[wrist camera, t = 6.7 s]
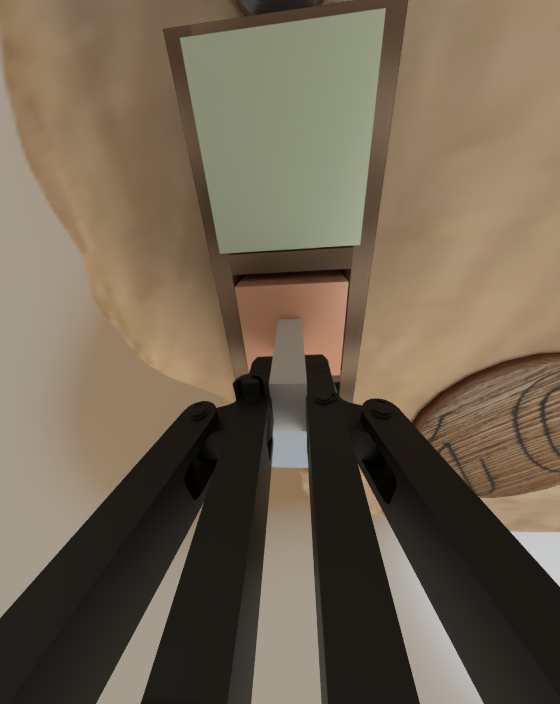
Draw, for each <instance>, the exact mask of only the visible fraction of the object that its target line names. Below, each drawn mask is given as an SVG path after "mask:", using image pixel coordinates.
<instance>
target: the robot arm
mask: <svg viewBox="0 0 560 704" xmlns="http://www.w3.org/2000/svg"><path fill="white" fill-rule="evenodd" d="M233 387H234V391H235V396H236V402H234V403H232V404H230V405H226V406H223V407H218V408H216V407H215V405H214V404H213V403H211V402H208V401H201V402H198V403H195V404H193V405H191V406H189V407H188V408H187V409H185V411H184V412H183V413H182V414H181V415H180V416H179V417H178V418H177V419H176V420H175V421H174V423H173V424H172V425H171V426H170V427H169V428H168V429H167V431H166V432H165V433H164V434H163V435H162V436H161V437H160V438H159V440H158V441H157V442H156V443H155V444H154V445H153V446H152V447H151V449H150V450H149V451H148V452H147V453H146V454H145V455H144V456H143V458H142V459H141V460H140V461H139V462H138V463H137V464H136V466H135V467H134V468H133V469H132V470H131V471H130V472H129V474H128V475H127V476H126V477H125V478H124V479H123V480H122V482H121V483H120V484H119V485H118V486H117V487H116V488H115V489H114V490H113V492H112V493H111V494H110V495H109V496H108V497H107V498H106V499H105V501H104V502H103V503H102V504H101V505H100V506H99V507H98V508H97V510H96V511H95V512H94V513H93V514H92V515H91V516H90V518H89V519H88V520H87V521H86V522H85V523H84V524H83V525H82V527H81V528H80V529H79V530H78V531H77V532H76V533H75V535H74V536H73V537H72V538H71V539H70V540H69V541H68V542H67V543H66V545H65V546H64V547H63V548H62V549H61V550H60V551H59V553H58V554H57V555H56V556H55V557H54V558H53V559H52V560H51V562H50V563H49V564H48V565H47V566H46V567H45V568H44V570H43V571H42V572H41V573H40V574H39V575H38V576H37V577H36V578H35V580H34V581H33V582H32V583H31V584H30V585H29V586H28V588H27V589H26V590H25V591H24V592H23V593H22V594H21V596H20V597H19V598H18V599H17V600H16V601H15V602H14V603H13V605H12V606H11V607H10V608H9V609H8V610H7V611H6V612H5V613H4V615H3V616H2V617H1V618H0V704H96V703H97V700H98V699H99V697H100V695H101V693H102V691H103V690H104V688H105V686H106V684H107V682H108V680H109V678H110V676H111V675H112V673H113V671H114V669H115V667H116V665H117V663H118V662H119V660H120V658H121V656H122V654H123V652H124V650H125V648H126V646H127V645H128V643H129V641H130V639H131V637H132V635H133V634H134V632H135V630H136V628H137V626H138V624H139V622H140V620H141V619H142V617H143V615H144V613H145V611H146V609H147V607H148V605H149V604H150V602H151V600H152V598H153V596H154V594H155V592H156V591H157V589H158V587H159V585H160V583H161V581H162V579H163V577H164V576H165V574H166V572H167V570H168V568H169V566H170V564H171V563H172V560H173V559H174V557H175V555H176V553H177V551H178V549H179V548H180V546H181V544H182V542H183V540H184V538H185V536H186V535H187V533H188V530H189V529H190V527H191V525H192V523H193V521H194V520H195V518H196V516H197V514H198V512H199V510H200V508H201V507H202V505H203V507H202V511H201V514H200V517H199V520H198V523H197V526H196V530H195V533H194V536H193V539H192V542H191V545H190V549H189V552H188V555H187V558H186V561H185V565H184V568H183V571H182V574H181V577H180V581H179V584H178V587H177V590H176V593H175V596H174V600H173V603H172V606H171V609H170V613H169V616H168V619H167V622H166V625H165V628H164V632H163V635H162V638H161V641H160V644H159V647H158V651H157V654H156V657H155V660H154V663H153V667H152V670H151V673H150V676H149V679H148V683H147V686H146V689H145V692H144V695H143V698H142V701H141V704H251V698H252V685H253V675H254V663H255V652H256V639H257V628H258V617H259V605H260V594H261V582H262V571H263V559H264V547H265V535H266V523H267V512H268V501H269V490H270V478H271V467H272V455H273V444H274V441H273V426H274V431H307V453H308V471H309V489H310V506H311V523H312V540H313V558H314V576H315V594H316V611H317V629H318V647H319V665H320V682H321V699H322V704H420V703H419V699H418V695H417V691H416V687H415V683H414V679H413V676H412V672H411V668H410V664H409V660H408V656H407V653H406V649H405V645H404V641H403V637H402V633H401V629H400V625H399V621H398V618H397V614H396V610H395V606H394V602H393V599H392V594H391V591H390V587H389V583H388V579H387V575H386V571H385V567H384V564H383V560H382V556H381V552H380V548H379V544H378V541H377V537H376V533H375V529H374V525H373V521H372V517H371V513H370V510H369V506H368V502H367V498H366V494H365V490H364V486H363V483H362V479H361V475H360V471H359V467H360V469H361V470H362V472H363V474H364V476H365V478H366V480H367V482H368V484H369V486H370V488H371V489H372V491H373V493H374V495H375V497H376V499H377V501H378V503H379V505H380V507H381V509H382V510H383V512H384V514H385V516H386V518H387V520H388V522H389V524H390V526H391V528H392V529H393V531H394V533H395V535H396V537H397V539H398V541H399V543H400V545H401V546H402V549H403V550H404V552H405V554H406V556H407V558H408V560H409V562H410V564H411V565H412V567H413V569H414V571H415V573H416V575H417V577H418V579H419V581H420V582H421V585H422V587H423V588H424V590H425V592H426V594H427V596H428V598H429V600H430V602H431V604H432V606H433V608H434V609H435V611H436V613H437V615H438V617H439V619H440V621H441V623H442V625H443V627H444V628H445V630H446V632H447V634H448V636H449V638H450V640H451V642H452V643H453V646H454V648H455V649H456V651H457V653H458V655H459V657H460V659H461V660H462V662H463V665H464V666H465V668H466V670H467V672H468V674H469V676H470V678H471V680H472V682H473V684H474V685H475V687H476V689H477V691H478V693H479V695H480V697H481V699H482V701H483V703H484V704H560V587H559V586H558V585H557V583H556V582H554V580H553V579H552V578H551V577H550V576H549V575H548V574H547V572H546V571H545V570H544V569H543V568H542V567H541V566H540V565H539V563H538V562H537V561H536V560H535V559H534V558H533V557H532V556H531V555H530V554H529V553H528V551H527V550H526V549H525V548H524V547H523V546H522V545H521V544H520V543H519V541H518V540H517V539H516V538H515V537H514V536H513V535H512V534H511V532H510V531H509V530H508V529H507V528H506V527H505V526H504V525H503V524H502V522H501V521H500V520H499V519H498V518H497V517H496V516H495V515H494V514H493V512H492V511H491V510H490V509H489V508H488V507H487V506H486V505H485V504H484V502H483V501H482V500H481V499H480V498H479V497H478V496H477V495H476V494H475V493H474V491H473V490H472V489H471V488H470V487H469V486H468V485H467V484H466V483H465V481H464V480H463V479H462V478H461V477H460V476H459V475H458V474H457V473H456V471H455V470H454V469H453V468H452V467H451V466H450V465H449V464H448V463H447V461H446V460H445V459H444V458H443V457H442V456H441V455H440V454H439V453H438V451H437V450H436V449H435V448H434V447H433V446H432V445H431V444H430V443H429V442H428V440H427V439H426V438H425V437H424V436H423V435H422V434H421V433H420V432H419V430H418V429H417V428H416V427H415V426H414V425H413V424H412V423H411V422H410V420H409V419H408V418H407V417H406V416H405V415H404V414H403V413H402V412H401V410H400V409H399V408H398V407H396V406H395V405H394V404H393V403H391V402H389V401H387V400H383V399H370V400H367V401H365V402H364V404H363V405H357V404H353V403H350V402H347V401H345V400H343V399H342V398H340V396H339V394H338V393H337V392H336V391H335V387H334V383H333V379H332V375H331V372H330V367H329V363H328V359H327V358H326V357H325V356H324V355H323V354H316V355H305V354H304V342H303V329H302V318H301V319H278V326H277V332H276V339H275V346H274V352H273V356H265V357H257V358H256V359H255V360H254V361H253V362H252V365H251V369H250V372H249V374H245V375H242V376H240V377H238V378H237V379H236V380H235V381H234V383H233ZM358 465H359V467H358ZM203 503H204V504H203Z"/></svg>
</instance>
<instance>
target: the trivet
mask: <svg viewBox="0 0 560 704" xmlns="http://www.w3.org/2000/svg"><path fill="white" fill-rule="evenodd" d="M412 424H413V425H414V426H415V427H416V428H417V429H418V430H419V432H420V433H421V434H422V435H423V436H424V437H425V438H426V439H427V440H428V442H429V443H430V444H431V445H432V446H433V447H434V448H435V449H436V450H437V451H438V453H439V454H440V455H441V456H442V457H443V458H444V459H445V460H446V461H447V463H448V464H449V465H450V466H451V467H452V468H453V469H454V470H455V471H456V473H457V474H458V475H459V476H460V477H461V478H462V479H463V480H464V481H465V483H466V484H467V485H468V486H469V487H470V488H471V489H472V490H473V491H474V493H475V494H476V495H477V496H478V497H479V498H496V497H505V496H514V495H521V494H525V493H530V492H535V491H539V490H544V489H547V488H550V487H553V486H556V485H559V484H560V353H542V354H536V355H532V356H528V357H523V358H519V359H515V360H510V361H506V362H502V363H500V364H497V365H495V366H492V367H490V368H487V369H485V370H482V371H480V372H477V373H475V374H472V375H470V376H468V377H466V378H465V379H463V380H461V381H460V382H458V383H456V384H455V385H453V386H451V387H450V388H448V389H446V390H445V391H443V392H441V393H440V394H439V395H438V396H437V397H436V398H435V399H434V400H432V401H431V402H430V403H429V404H428V405H427V406H426V407H425V408H423V409H422V410H421V412H420V413H419V414H418V416H417V417H416V419H415V420H414V422H413V423H412Z"/></svg>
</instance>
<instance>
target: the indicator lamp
mask: <svg viewBox="0 0 560 704" xmlns="http://www.w3.org/2000/svg"><path fill="white" fill-rule="evenodd" d="M236 1H237V3H238V5H239V7H240V9H241V10H242V12H243V13H244V15H245V16H246V17H247V16H253V15H260V14H267V13H274V12H280V11H287V10H294V9H300V8H307V7H314V6H320V5H322V4H323V2H324V0H236Z"/></svg>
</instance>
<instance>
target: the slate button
mask: <svg viewBox="0 0 560 704" xmlns="http://www.w3.org/2000/svg"><path fill="white" fill-rule="evenodd" d="M333 383H334V387H335V391H336V392H337V390H336V386H335V382H333ZM273 441H274V444H273V455H272V467H293V468H308V453H307V431H274V426H273Z"/></svg>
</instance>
